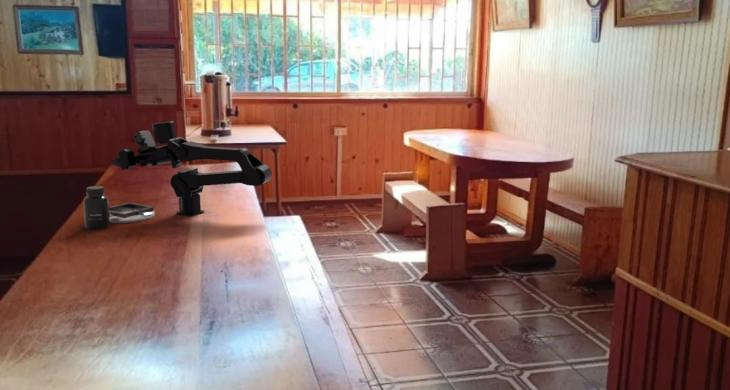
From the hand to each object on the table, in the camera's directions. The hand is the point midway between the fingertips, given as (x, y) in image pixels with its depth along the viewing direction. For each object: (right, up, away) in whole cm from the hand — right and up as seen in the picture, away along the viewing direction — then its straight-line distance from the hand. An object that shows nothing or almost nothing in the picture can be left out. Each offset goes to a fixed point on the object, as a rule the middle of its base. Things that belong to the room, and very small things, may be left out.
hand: (120, 160), depth 205 cm
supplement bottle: (+1, -21, -21) cm, 29 cm away
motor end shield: (+6, -18, -8) cm, 21 cm away
